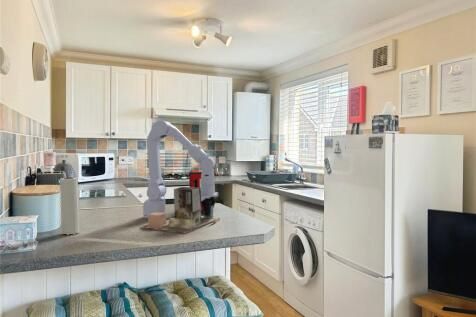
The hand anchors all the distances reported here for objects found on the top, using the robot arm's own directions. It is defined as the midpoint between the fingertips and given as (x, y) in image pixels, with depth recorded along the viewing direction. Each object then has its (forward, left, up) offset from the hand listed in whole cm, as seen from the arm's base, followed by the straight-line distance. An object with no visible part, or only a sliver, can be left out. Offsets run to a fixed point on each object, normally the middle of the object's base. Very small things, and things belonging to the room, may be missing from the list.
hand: (208, 215), depth 152 cm
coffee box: (0, -16, -2) cm, 16 cm away
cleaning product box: (-15, +16, -2) cm, 21 cm away
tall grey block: (-37, -40, -2) cm, 55 cm away
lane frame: (-4, -16, -2) cm, 17 cm away
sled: (0, -10, -2) cm, 10 cm away
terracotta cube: (-10, -22, -1) cm, 25 cm away
